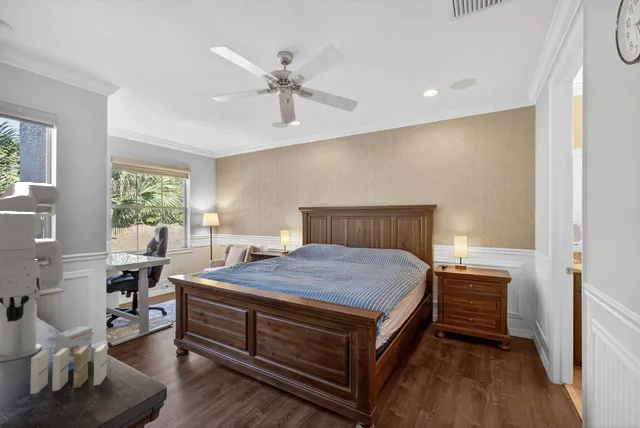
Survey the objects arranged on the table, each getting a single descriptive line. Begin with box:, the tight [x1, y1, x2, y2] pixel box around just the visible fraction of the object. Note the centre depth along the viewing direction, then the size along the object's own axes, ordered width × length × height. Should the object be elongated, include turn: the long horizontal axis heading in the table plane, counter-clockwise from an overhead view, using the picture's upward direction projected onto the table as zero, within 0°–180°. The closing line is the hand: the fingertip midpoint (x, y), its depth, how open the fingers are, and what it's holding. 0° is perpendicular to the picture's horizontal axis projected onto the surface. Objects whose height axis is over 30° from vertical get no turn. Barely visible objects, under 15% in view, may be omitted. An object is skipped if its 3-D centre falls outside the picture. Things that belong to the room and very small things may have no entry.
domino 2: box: [51, 348, 69, 392], centre depth 87 cm, size 2×5×10 cm, turn 18°
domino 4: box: [93, 343, 108, 386], centre depth 90 cm, size 2×5×10 cm, turn 18°
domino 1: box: [29, 349, 49, 395], centre depth 86 cm, size 2×5×10 cm, turn 18°
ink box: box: [54, 325, 93, 372], centre depth 99 cm, size 9×5×12 cm, turn 168°
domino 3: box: [73, 346, 89, 389], centre depth 89 cm, size 2×5×10 cm, turn 18°
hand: (14, 319), depth 84 cm, fingers closed
